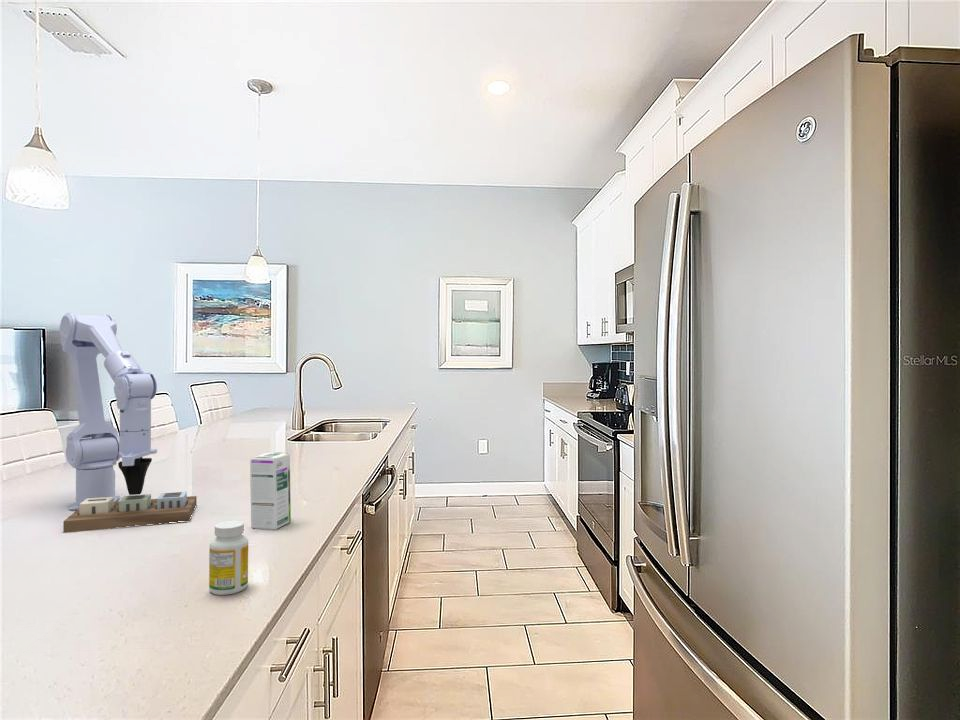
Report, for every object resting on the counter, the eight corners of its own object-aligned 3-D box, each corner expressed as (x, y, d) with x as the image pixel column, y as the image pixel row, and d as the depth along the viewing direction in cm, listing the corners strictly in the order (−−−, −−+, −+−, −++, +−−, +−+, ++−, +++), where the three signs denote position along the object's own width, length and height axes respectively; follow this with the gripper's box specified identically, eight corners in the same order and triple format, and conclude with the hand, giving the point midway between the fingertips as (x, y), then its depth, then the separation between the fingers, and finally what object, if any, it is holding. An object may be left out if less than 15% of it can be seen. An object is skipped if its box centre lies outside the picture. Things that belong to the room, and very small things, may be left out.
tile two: (124, 512, 126) (124, 495, 126) (151, 510, 127) (151, 493, 127) (118, 518, 121) (118, 500, 121) (146, 516, 122) (146, 498, 122)
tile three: (161, 509, 128) (161, 492, 128) (186, 507, 130) (186, 491, 130) (157, 515, 123) (157, 498, 123) (183, 513, 125) (183, 496, 125)
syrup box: (276, 530, 116) (276, 457, 116) (249, 528, 117) (249, 456, 117) (291, 522, 121) (291, 452, 121) (265, 520, 123) (265, 451, 123)
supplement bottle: (219, 599, 83) (219, 531, 83) (202, 589, 87) (202, 524, 87) (255, 587, 87) (255, 523, 87) (237, 578, 91) (237, 517, 91)
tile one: (86, 515, 123) (86, 497, 123) (113, 512, 125) (113, 495, 125) (79, 521, 118) (79, 503, 118) (107, 519, 120) (107, 501, 120)
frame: (84, 513, 127) (84, 503, 127) (196, 505, 134) (196, 495, 134) (63, 532, 114) (63, 521, 114) (188, 521, 121) (188, 511, 121)
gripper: (150, 433, 119) (150, 500, 119) (162, 425, 132) (162, 485, 132) (110, 435, 116) (110, 503, 116) (126, 426, 130) (126, 487, 130)
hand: (135, 494), depth 124 cm, fingers closed
